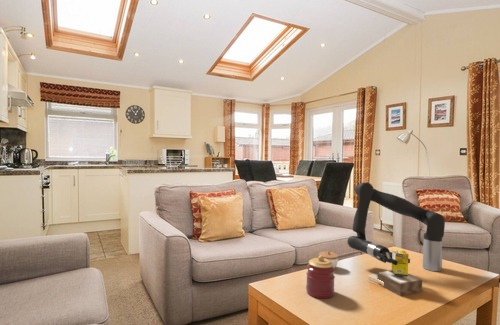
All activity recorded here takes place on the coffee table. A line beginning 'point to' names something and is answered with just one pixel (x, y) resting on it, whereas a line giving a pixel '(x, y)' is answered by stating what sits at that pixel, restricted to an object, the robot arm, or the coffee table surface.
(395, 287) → the silver-topped wooden block
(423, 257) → the robot arm
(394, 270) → the supplement box
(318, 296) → the canister
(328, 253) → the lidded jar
